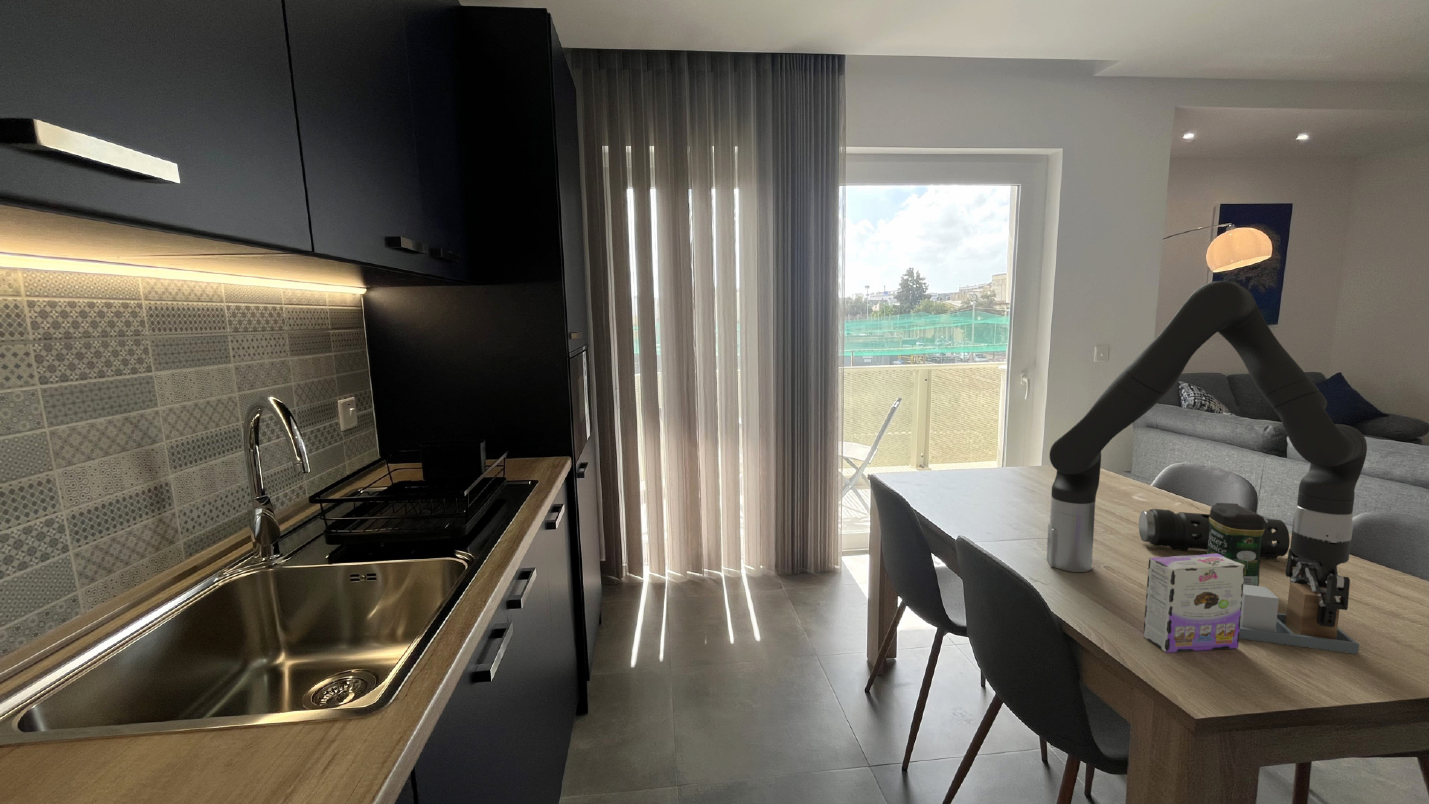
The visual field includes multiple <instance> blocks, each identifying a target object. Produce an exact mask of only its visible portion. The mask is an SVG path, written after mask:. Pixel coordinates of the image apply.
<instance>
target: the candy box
mask: <svg viewBox="0 0 1429 804" xmlns="http://www.w3.org/2000/svg"><path fill="white" fill-rule="evenodd" d="M1244 570H1245V565H1243V564H1241V563H1238V562H1236V561H1234V560H1232V559H1229V558H1226V557H1224V556H1222V555H1220V554H1191V555H1175V556H1174V555H1173V556H1154V557H1151V556H1150V557H1149V558H1148V569H1147V579H1146V580H1147V583H1146V595H1145V605H1144V607H1145V609H1144V610H1145V611H1144V620H1143V621H1144V623H1143V638H1145V639H1146V640H1148V642H1150V643H1152V644H1153V645H1155V647H1157V648H1159V649H1160V650H1162V652H1164V653H1168V654H1169V653H1179V652H1180V653H1183V652H1197V651H1198V652H1199V651H1200V652H1201V651H1210V650H1212V651H1213V650H1224V649H1225V650H1230V649H1238V648H1239V644H1240V638H1239V632H1240V618H1241V606H1242V595H1243V581H1244Z"/></svg>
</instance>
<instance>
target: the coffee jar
mask: <svg viewBox="0 0 1429 804" xmlns="http://www.w3.org/2000/svg"><path fill="white" fill-rule="evenodd" d="M1209 511H1210V512H1209V514H1210V515H1209V526H1210V531H1209V542H1208V550H1206V553H1207V554H1220V555H1222V556H1224V557H1226V558H1229V559H1232V560H1234V561H1236V562H1238V563H1241V564H1243V565H1245V570H1244V581H1243V584H1244V585H1253V586H1260V563H1261V562H1260V560H1261V557H1260V547H1261V539H1262V536H1263V533H1264V528H1265V524H1264V519H1265V518H1264V516H1262V515H1260V514H1258V513H1257V512H1254V511H1253V510H1250V509H1249V508H1246V507H1244V506H1241V505H1239V504H1238V503H1232V502H1231V503H1230V502H1216V503H1215V504H1213V505H1212V506H1211V507H1210V510H1209Z"/></svg>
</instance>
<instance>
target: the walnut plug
mask: <svg viewBox="0 0 1429 804" xmlns="http://www.w3.org/2000/svg"><path fill="white" fill-rule="evenodd" d="M1288 588H1289V589H1288V597H1287V607H1286V613H1285V614H1286V623H1285V626H1286V627H1287V628H1288V629H1290V630H1291V631H1292V632H1293V633H1294V634H1297V635H1304V636H1312V637H1320V638H1327V639H1335V640H1336V635H1337V627H1338V626H1339V618H1340V617H1339V616H1340V611H1341V609H1337V612H1336V620H1335V626H1334V627H1325V626H1320V625H1319V624H1318V623H1317V613H1318V605H1319V601H1318V598H1317V595H1316V594H1315V593H1313V591H1312V588H1311V585H1308V584H1298V583H1291V582H1289V587H1288ZM1320 588H1321V587H1320ZM1322 589H1327V588H1322ZM1324 597H1325V600H1326V595H1325V594H1324ZM1338 597H1339V601H1340V598H1341V597H1340V596H1338ZM1338 628H1339V627H1338Z"/></svg>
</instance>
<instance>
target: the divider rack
mask: <svg viewBox="0 0 1429 804" xmlns="http://www.w3.org/2000/svg"><path fill="white" fill-rule="evenodd" d="M1279 601H1280V598H1279V597H1278V596H1277V595H1275V594H1274V593H1273V592H1272V591H1271V590H1270V589H1269V588H1267V587H1266V586H1261V585H1259V586H1253V585H1244V584H1243V595H1242V606H1241V618H1240V632H1239V640H1240V639H1241V640H1248V641H1249V640H1250V641H1256V642H1264V643H1272V644H1278V645H1284V644H1286V645H1285V646H1292V645H1293V647H1300V648H1306V647H1309V649H1316V650H1320V651H1321V650H1322V651H1328V650H1329V651H1330V652H1337V653H1343V652H1347V653H1346V654H1350V653H1351V655H1359V650H1360V643H1359V642H1358V641H1356V640H1355V639H1354V638H1352V637H1351V636H1350V635H1348V634H1347V633H1346V632H1345V631H1343V630H1342V629H1341V628H1340V627H1337V635H1336V640H1335V639H1327V638H1320V637H1312V636H1304V635H1297V634H1294V633H1293V632H1292V631H1291V630H1290V629H1288V628H1287V627H1286V626H1285V623H1286V614H1287V613H1280V612H1278V610H1279Z"/></svg>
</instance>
